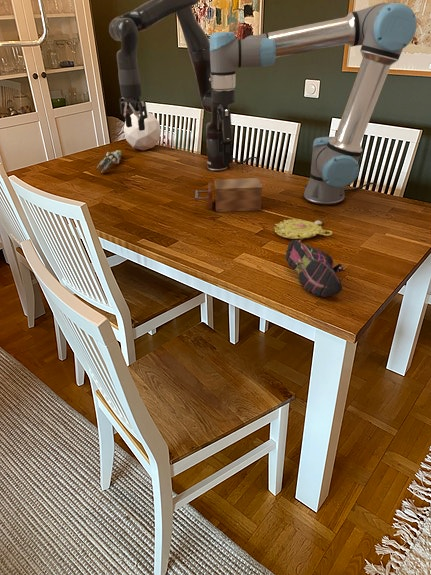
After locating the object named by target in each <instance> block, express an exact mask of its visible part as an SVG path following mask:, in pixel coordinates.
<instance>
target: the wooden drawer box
mask: <svg viewBox="0 0 431 575" xmlns="http://www.w3.org/2000/svg"><path fill="white" fill-rule="evenodd" d="M262 191H263V186H262V184H261V181H260V179H259V177H247V178H245V177H244V178H221V179H219V178H218V179H217V178H216V179H214V202H215V203H214V204H215V212H216V213H224V212H227V213H228V212H253V211H262V193H263V192H262Z"/></svg>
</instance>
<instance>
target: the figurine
mask: <svg viewBox="0 0 431 575" xmlns="http://www.w3.org/2000/svg"><path fill="white" fill-rule="evenodd" d="M122 153H123V152H122V150H115V151H111V152H110V151H107V152H106V153H105V155H106V156H104V157H103V158H102V159H101V161H100V162H99V163H98V165H97V167H96V169H97V170H100V173H101V174H104V173H105V172H106V171H107V170H108V169H109V168H110V167H111V166H112V165H119V164H120V160H121V158H122V157H123V154H122Z"/></svg>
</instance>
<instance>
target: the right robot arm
mask: <svg viewBox="0 0 431 575" xmlns="http://www.w3.org/2000/svg"><path fill="white" fill-rule="evenodd" d="M417 25H418V23H417V16H416V14H415V12H414V10H413V9H412V8H411V7H410V6H409V5H407V4H404V3H401V2H396V1H393V2H380V3H377V4H374V5H371V6H368V7H366V8H365V7H364V8H363V9H359V10H355V11H350V12H348V14H347V15H346V16H344V17H339V18H334V19H330V20H325V21H319V22H314V23H309V24H304V25H300V26H295V27H290V28H286V29H285V28H284V29H279V30H275V31H270V32H267V33H260V34H256V35H255V34H251V35H248V36H246V37H244V39H243V38H242V39H240V38H237V36H236V33H235V32H234V31H217V32H213V33H211V35H210V36H209V42H210V63H211V78H210V79H209V81H210V82H211V81H212V82H211V86H212V89H214V90H212V103H214V104H217V105H218V109H217V113H218V122H217V128H218V132H220V133H218V145H219V152H223V163H224V164H229V165H230V164H233V163H232V156H233V145H232V144H233V141H234V140H233V131H232V130H233V128H232V109H230V105H231V104H234V103H235V102H237V100H236V99H237V98H236V94H237V93H236V92H237V91H236V90H235V88H236V87H237V86H236V83H237V82H236V80H237V79H236V77H237V76H236V75H237V74H236V68H238V69H239V68H265V67H272V66H274V64H275V62H276V59H277V58H282V57H286V56H293V55H297V54H298V55H299V54H303V53H308V52H313V51H319V50H323V49H328V48H329V49H330V48H334V47H340V46H344V45H347V46H349V47H350V48H353V47H358V46H360V50H359V51H360V54H361V56H362V59H361V61H360V65H359V68H358V71H357V73H356V76H355V79H354V82H353V84H352V87H351V90H350V93H349V96H348V98H347V101H346V104H345V107H344V110H343V113H342V115H341V117H340V121H339V124H338V127H337V129H336V132H335V135H334V136H320V137H316V138H314V140H313V142H312V151H311V152H312V154H311V164H310V176H309V177H310V178H309V180H308V182H307V184H305V188H304V192H303V199H304V201H306V202H307V203H310V204H312V205H317V206H327V207H328V206H329V207H330V206H337V205H340V204H342V203H343V202H344V201H345V192H353V191H356V190H358V189H361V188H365V187H367V186H370V185H373V186H375V187H376V186H377V183H376V182H373V181H372V182H368V183H365V184H363V185H359V186H357V187H354V188H348V189H347V188H346V187H349V186H350V185H352V184H353V183H354V182H355V181H356V180H357V177H358V176H359V173H360V165H359V161H360V159H361V156H362V153H363V148H362V146H361V143H362V140H363V138H364V135H365V133H366V130H367V128H368V125H369V122H370V120H371V117H372V115H373V112H374V109H375V107H376V105H377V102H378V99H379V97H380V94H381V92H382V89H383V86H384V84H385V82H386V79H387V77H388V74H389V71H390V68H391V66H392V65H394V64H395V63H397V62H399V59H400V57H401V54H402V52H403V50H404V49H405V48H406V47H407V46H408V45H410V43H411V42H412V41H413V38H414V37H415V34H416V32H417V27H418V26H417ZM228 105H229V106H228ZM344 188H346V189H344Z"/></svg>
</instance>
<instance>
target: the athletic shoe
mask: <svg viewBox="0 0 431 575" xmlns="http://www.w3.org/2000/svg"><path fill="white" fill-rule="evenodd" d="M299 241H300V240H298V239H291V241H290V242H289V243H288V245H287V250H286V252H285V260H286V262H287V264H288V266H289V267H290V268H291V269H292V270H295V271H296V272H297V274H298V280H299V283H300V284H301V286H303V287H304V288H303V289H304V290H305V291H306V292H307V293H310V294H311V295H313V296H318V297H321V298H323V297H324V298H325V297H326V298H327V297H331V296H335V295H339V293H341V292H342V291H343V284H342V281H341V279H340V277H339V276H338V274H337V273H342V272H346V270H345V269H344V267H343V264H341V263H338V264H337V265H335V266H334V260H333V258H332V256H331V255H329V254H328V253H326V252H325V251H323V250H321V249H319V248H315V247H312V246H310V245H308V244H304V243H302V241H300V242H299Z"/></svg>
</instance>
